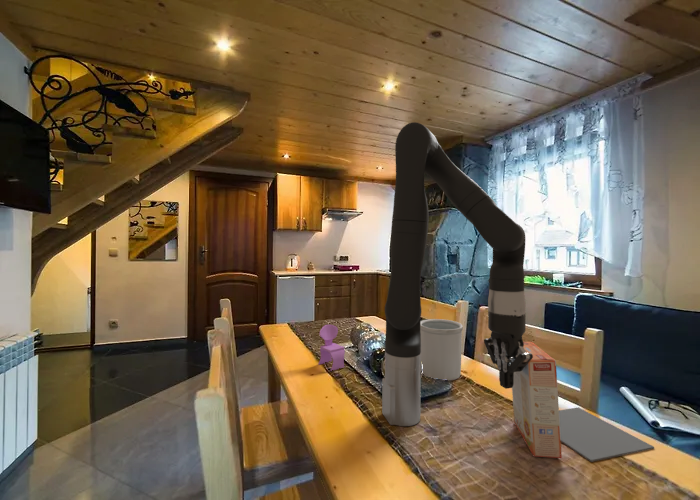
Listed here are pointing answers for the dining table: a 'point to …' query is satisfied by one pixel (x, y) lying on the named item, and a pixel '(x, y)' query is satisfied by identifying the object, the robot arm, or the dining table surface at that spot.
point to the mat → (596, 436)
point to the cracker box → (538, 404)
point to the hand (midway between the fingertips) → (506, 386)
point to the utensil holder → (441, 348)
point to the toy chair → (331, 348)
